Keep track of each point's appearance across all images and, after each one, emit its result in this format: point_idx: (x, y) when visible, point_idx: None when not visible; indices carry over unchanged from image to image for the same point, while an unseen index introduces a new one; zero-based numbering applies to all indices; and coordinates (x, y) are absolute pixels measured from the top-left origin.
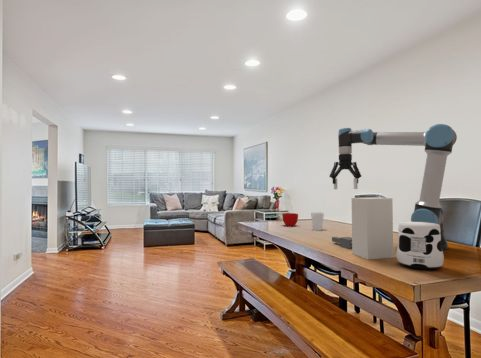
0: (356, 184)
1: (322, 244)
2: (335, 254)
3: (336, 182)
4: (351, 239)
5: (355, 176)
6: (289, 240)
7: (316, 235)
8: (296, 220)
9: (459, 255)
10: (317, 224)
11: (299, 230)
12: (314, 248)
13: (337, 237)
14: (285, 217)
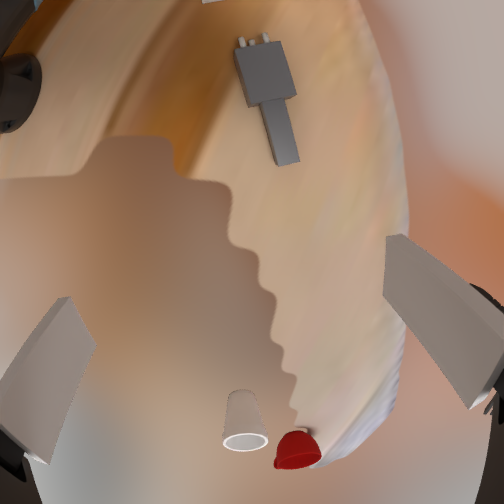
0: (38, 337)
1: (337, 143)
2: (346, 4)
3: (464, 286)
4: (265, 47)
5: (13, 474)
6: (407, 233)
7: (286, 316)
8: (284, 444)
9: None
10: (248, 403)
11: (301, 389)
12: (382, 89)
13: (280, 148)
14: (317, 447)
